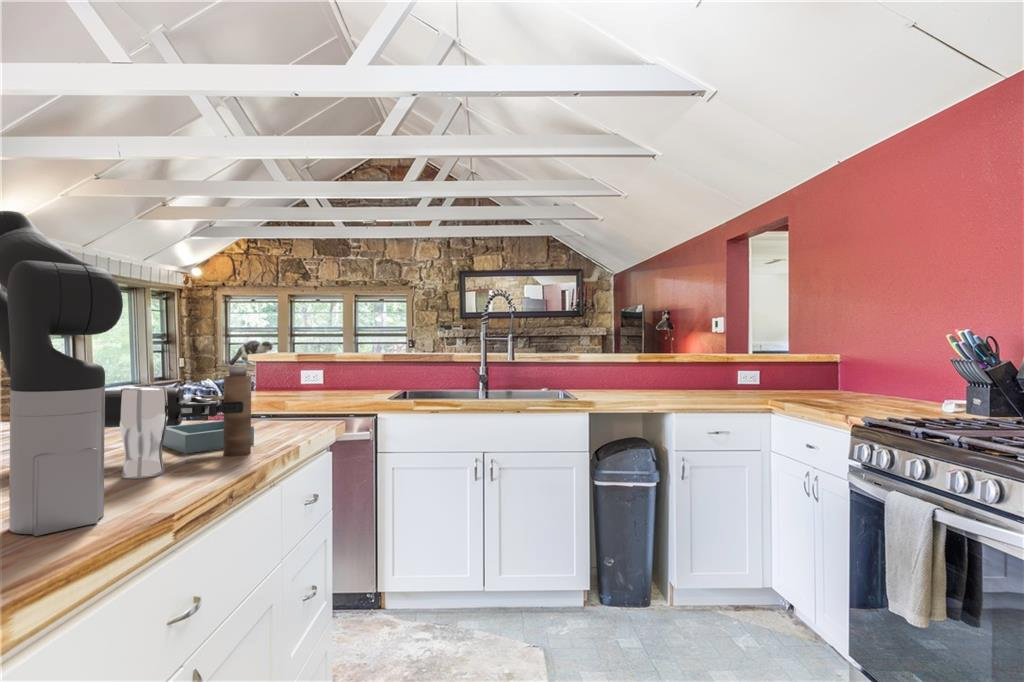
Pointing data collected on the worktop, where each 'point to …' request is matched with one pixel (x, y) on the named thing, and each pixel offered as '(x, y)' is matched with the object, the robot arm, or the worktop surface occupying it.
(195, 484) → the worktop surface
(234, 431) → the pepper mill
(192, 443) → the tray
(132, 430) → the beer glass
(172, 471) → the worktop surface
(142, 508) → the worktop surface
